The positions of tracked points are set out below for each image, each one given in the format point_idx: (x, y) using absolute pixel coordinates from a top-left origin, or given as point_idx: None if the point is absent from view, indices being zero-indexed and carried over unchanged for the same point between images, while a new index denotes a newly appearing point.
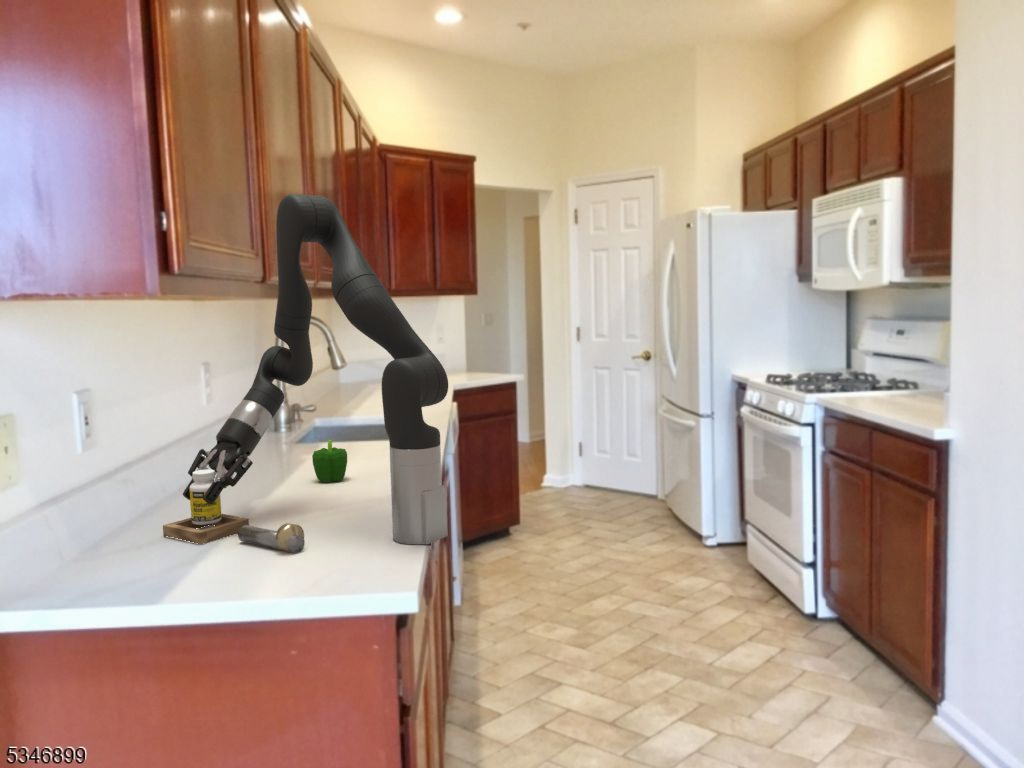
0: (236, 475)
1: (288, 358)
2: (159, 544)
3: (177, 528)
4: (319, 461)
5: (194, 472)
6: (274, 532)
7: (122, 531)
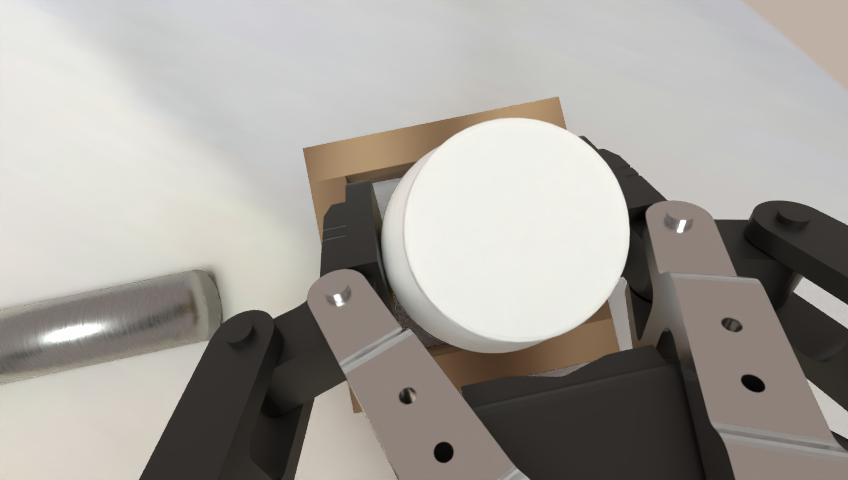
0: (275, 467)
1: None
2: (451, 65)
3: (456, 118)
4: None
5: (548, 140)
6: None
7: (748, 42)
